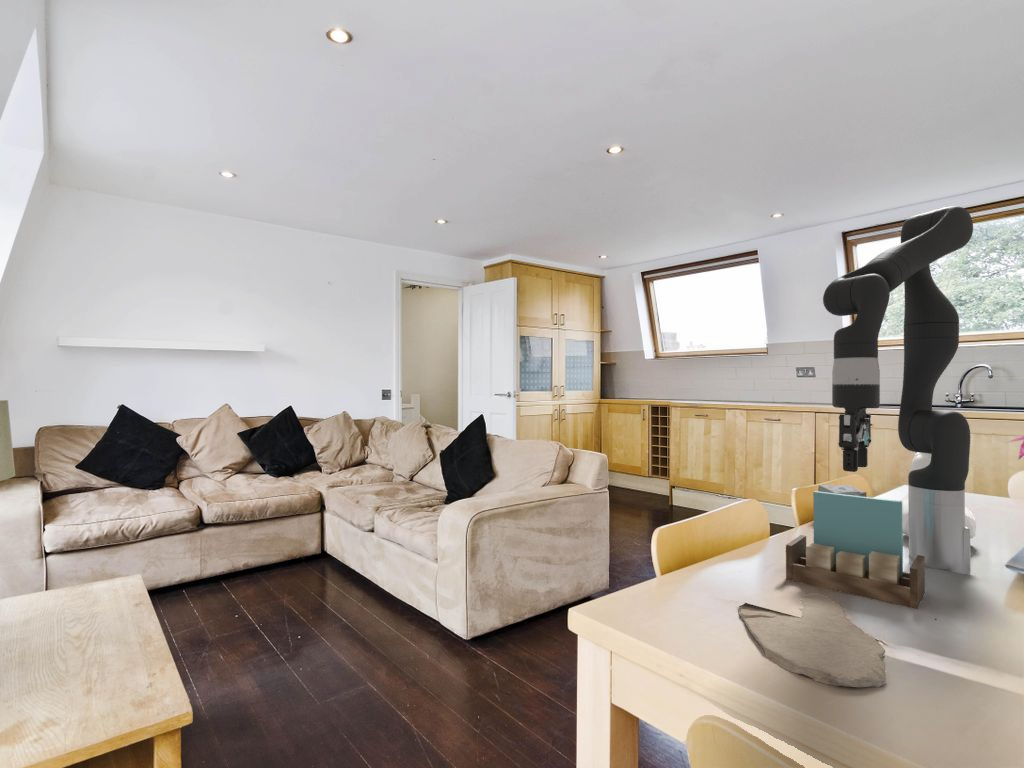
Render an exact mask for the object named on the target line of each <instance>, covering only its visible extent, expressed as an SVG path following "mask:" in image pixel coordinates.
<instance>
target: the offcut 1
mask: <svg viewBox="0 0 1024 768" xmlns="http://www.w3.org/2000/svg"><path fill="white" fill-rule="evenodd" d="M806 566H809V567H814V568H819V569H824V570H828V571H833V572H834V547H831V546H825V545H820V544H814V542H810V543H808V544H806Z"/></svg>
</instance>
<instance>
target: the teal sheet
mask: <svg viewBox="0 0 1024 768" xmlns="http://www.w3.org/2000/svg"><path fill="white" fill-rule="evenodd" d="M812 495H813V502H812V504H813V513H812V514H813V543H814V544H820V545H825V546H831V547H834V564H836V554H837V553H839V552H840V551H844V552H849V553H855V554H860V555H866V570H869V554H870V553H871V552H872V551H875V552H880V553H886V554H892V555H897V556H900V577H903V572H904V566H903V565H904V561H903V560H904V559H903V558H904V557H903V555H904V554H903V552H904V551H903V546H904V545H903V543H904V541H903V539H904V538H903V537H904V536H903V529H902V501H900V500H896V499H895V500H894V499H886V498H877V497H871V496H870V497H868V496H867V497H862V496H853V495H845V494H836V493H828V492H819V491H818V490H815V491H813V494H812Z"/></svg>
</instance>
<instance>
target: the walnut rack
mask: <svg viewBox="0 0 1024 768" xmlns="http://www.w3.org/2000/svg"><path fill="white" fill-rule="evenodd" d="M806 546H807V536H806V535H803V534H800V535H799V536H797V537H796V538H794V539H792V540H791V541H789V542H788V543H786V544H785V580H786V581H789V582H793V583H798V584H802V585H803V584H804V585H807V586H812V587H816V588H820V589H825V590H830V591H834V592H838V593H843V594H846V595H852V596H855V597H860V598H863V599H864V598H865V599H869V600H873V601H877V602H881V603H886V604H891V605H894V606H900V607H904V608H907V609H911V610H912V609H913V610H919V607H920V606H921V604H922V601H923V599H924V597H925V595H926V567H925V556H921V555H917V557H916V559H915V560H914V562H913V564H910V565H911V566H910V567H909V572H906V571H903V577H900V585H896V584H891V583H887V582H882V581H877V580H872V579H869V570H866V578H862V577H857V576H853V575H848V574H843V573H838V572H836V564H834V572H833V571H828V570H824V569H819V568H814V567H809V566H806Z"/></svg>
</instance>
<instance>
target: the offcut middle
mask: <svg viewBox="0 0 1024 768" xmlns="http://www.w3.org/2000/svg"><path fill="white" fill-rule="evenodd" d="M836 572H838V573H843V574H848V575H853V576H857V577H862V578H866V555H860V554H855V553H849V552H844V551H840V552H839V553H837V554H836Z"/></svg>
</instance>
